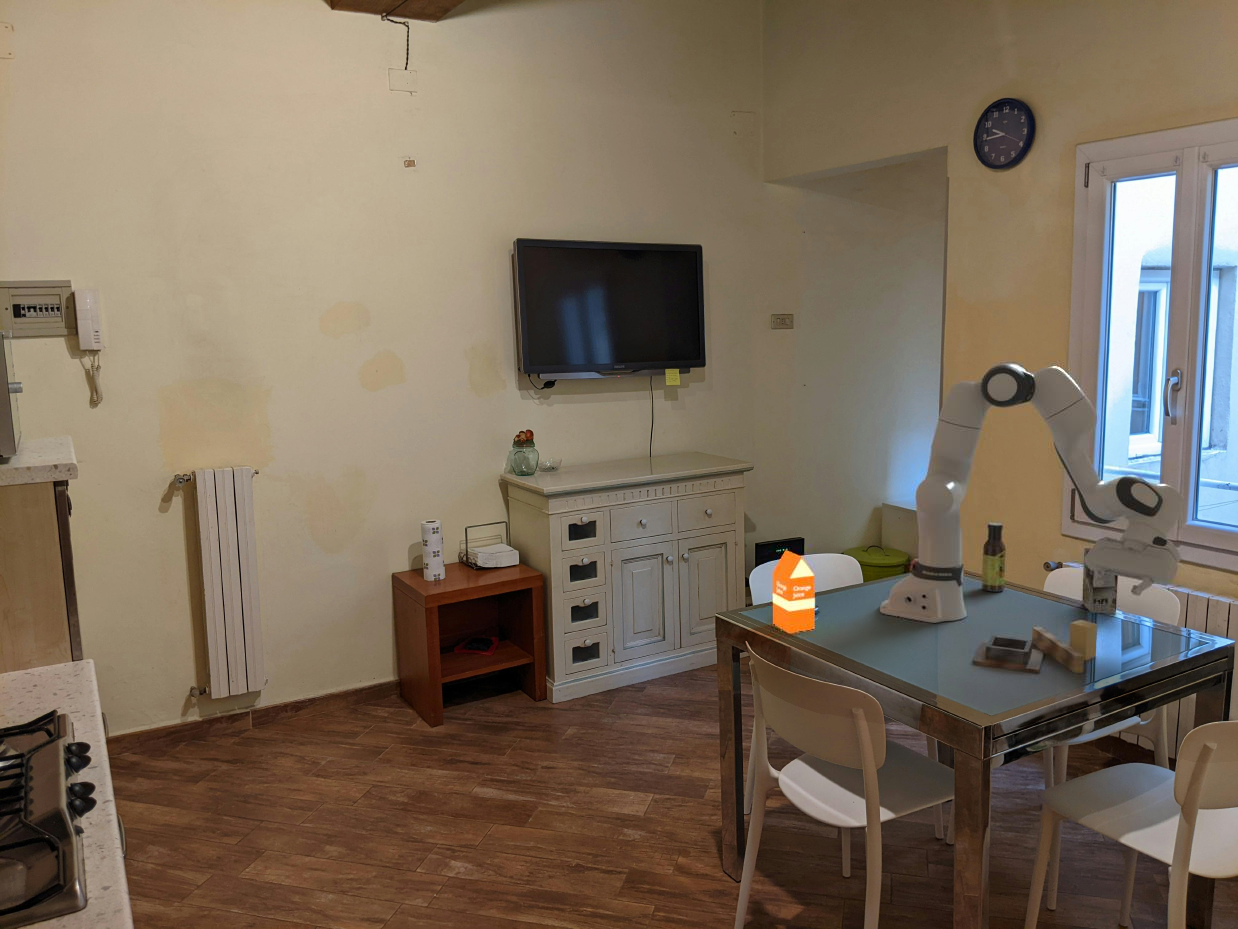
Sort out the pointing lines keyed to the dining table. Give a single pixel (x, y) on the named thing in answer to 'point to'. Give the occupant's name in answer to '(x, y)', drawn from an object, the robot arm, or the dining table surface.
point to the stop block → (1084, 638)
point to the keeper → (1009, 654)
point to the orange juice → (793, 594)
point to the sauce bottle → (994, 559)
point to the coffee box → (1099, 591)
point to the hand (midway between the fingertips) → (1115, 589)
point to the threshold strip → (1058, 649)
